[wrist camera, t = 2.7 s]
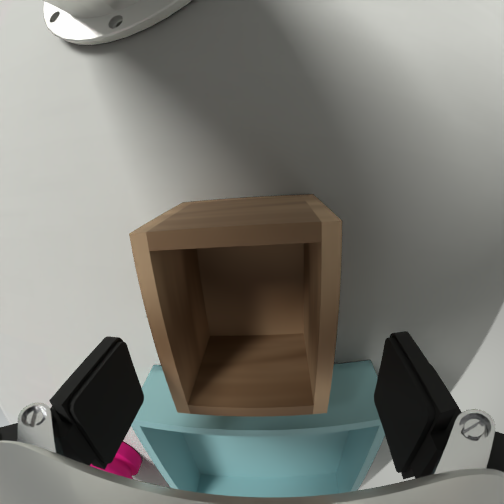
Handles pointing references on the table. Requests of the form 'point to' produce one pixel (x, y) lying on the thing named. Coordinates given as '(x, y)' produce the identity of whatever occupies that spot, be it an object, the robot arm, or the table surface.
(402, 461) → the robot arm
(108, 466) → the pepper mill
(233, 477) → the big crate
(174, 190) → the table surface
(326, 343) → the small crate
